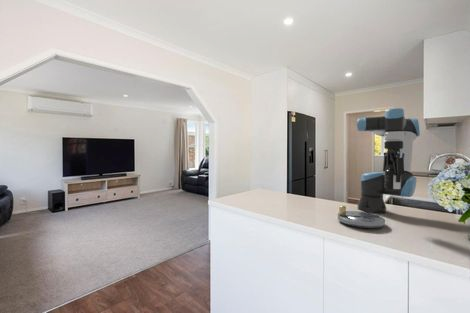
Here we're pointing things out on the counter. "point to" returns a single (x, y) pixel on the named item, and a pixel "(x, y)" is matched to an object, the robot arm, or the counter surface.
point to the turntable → (360, 218)
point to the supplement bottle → (389, 177)
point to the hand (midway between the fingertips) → (392, 187)
